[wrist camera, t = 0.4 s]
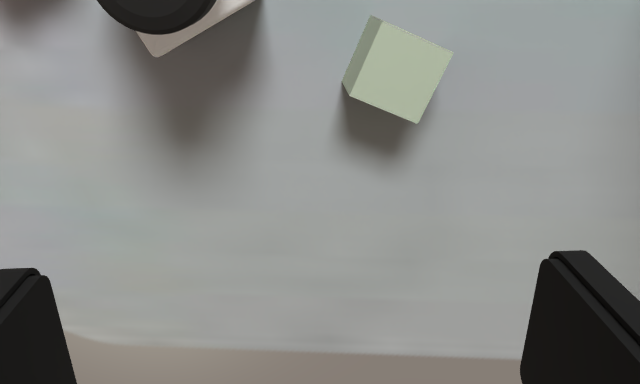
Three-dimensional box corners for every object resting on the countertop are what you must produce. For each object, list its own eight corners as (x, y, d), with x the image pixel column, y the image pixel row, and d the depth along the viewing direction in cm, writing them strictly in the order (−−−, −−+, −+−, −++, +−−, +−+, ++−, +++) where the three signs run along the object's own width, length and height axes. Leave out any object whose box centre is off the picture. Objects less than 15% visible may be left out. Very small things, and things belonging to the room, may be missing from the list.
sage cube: (370, 14, 36) (382, 20, 31) (432, 42, 37) (453, 52, 32) (341, 81, 37) (349, 95, 33) (401, 106, 38) (417, 124, 34)
